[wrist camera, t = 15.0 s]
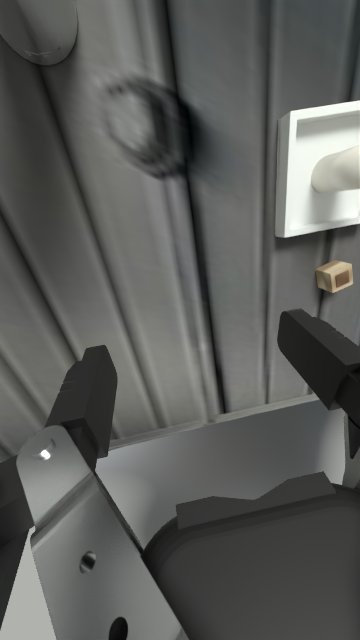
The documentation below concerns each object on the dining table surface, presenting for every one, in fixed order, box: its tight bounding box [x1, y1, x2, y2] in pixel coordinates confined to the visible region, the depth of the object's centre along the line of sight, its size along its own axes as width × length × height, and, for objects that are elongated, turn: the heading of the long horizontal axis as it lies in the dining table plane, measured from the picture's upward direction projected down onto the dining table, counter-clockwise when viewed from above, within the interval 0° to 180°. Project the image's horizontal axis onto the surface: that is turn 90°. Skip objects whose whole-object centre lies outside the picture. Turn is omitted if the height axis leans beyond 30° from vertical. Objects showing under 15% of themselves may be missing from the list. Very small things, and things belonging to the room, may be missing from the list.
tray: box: [275, 101, 360, 238], centre depth 35 cm, size 16×16×3 cm
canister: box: [311, 145, 360, 194], centre depth 30 cm, size 5×5×11 cm
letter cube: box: [315, 260, 353, 293], centre depth 42 cm, size 4×4×4 cm
